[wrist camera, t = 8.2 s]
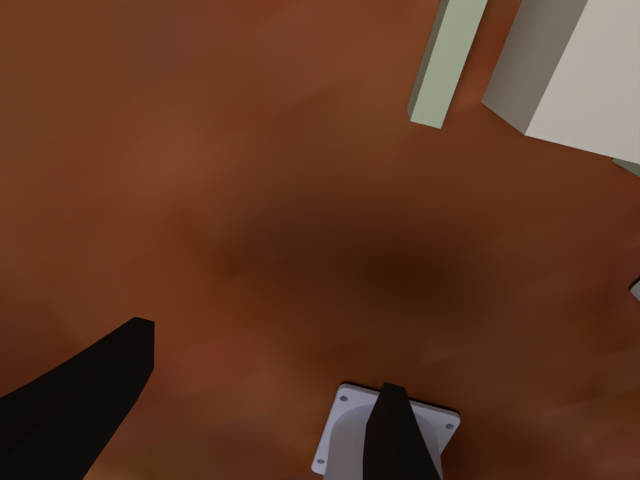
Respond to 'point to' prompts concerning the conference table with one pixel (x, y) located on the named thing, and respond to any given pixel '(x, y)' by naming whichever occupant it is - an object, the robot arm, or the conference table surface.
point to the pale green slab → (452, 64)
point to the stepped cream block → (573, 75)
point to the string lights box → (636, 290)
